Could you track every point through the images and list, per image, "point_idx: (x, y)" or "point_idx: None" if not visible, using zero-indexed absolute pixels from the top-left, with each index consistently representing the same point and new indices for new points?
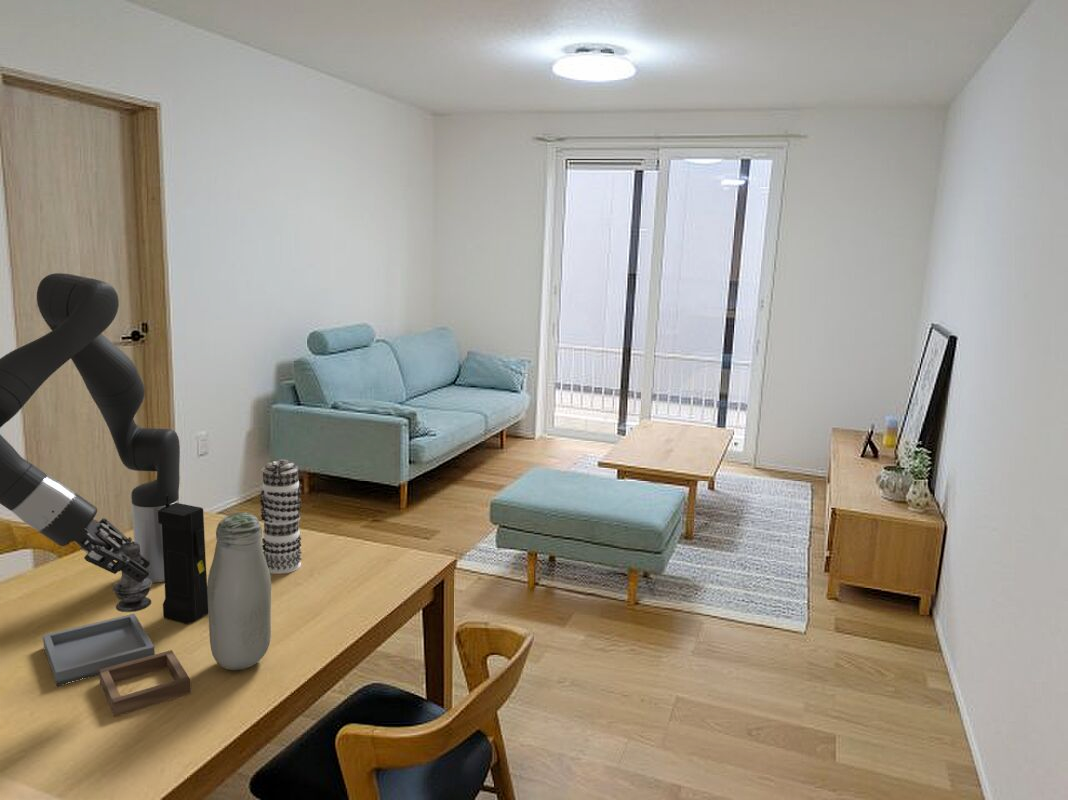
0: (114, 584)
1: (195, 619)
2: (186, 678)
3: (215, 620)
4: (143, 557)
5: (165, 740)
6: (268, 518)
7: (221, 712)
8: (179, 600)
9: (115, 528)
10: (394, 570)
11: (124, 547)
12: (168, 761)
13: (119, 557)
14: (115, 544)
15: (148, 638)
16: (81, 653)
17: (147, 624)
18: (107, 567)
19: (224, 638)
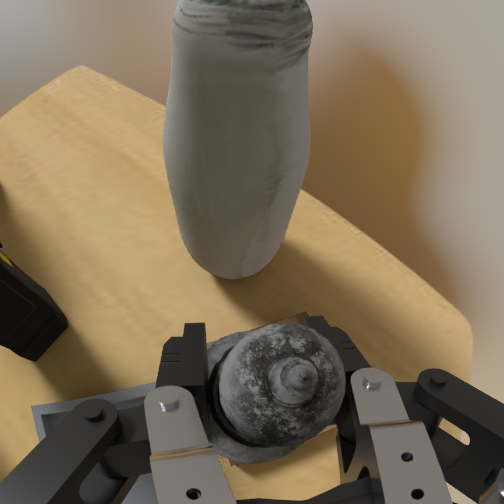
0: (239, 459)
1: (61, 312)
2: (301, 317)
3: (269, 230)
4: (196, 341)
5: (404, 339)
6: None
7: (355, 276)
8: (29, 326)
9: (16, 484)
10: (69, 95)
11: (333, 412)
12: (438, 328)
13: (461, 397)
14: (424, 450)
15: (130, 389)
16: (128, 494)
17: (45, 388)
18: (462, 444)
19: (282, 234)
